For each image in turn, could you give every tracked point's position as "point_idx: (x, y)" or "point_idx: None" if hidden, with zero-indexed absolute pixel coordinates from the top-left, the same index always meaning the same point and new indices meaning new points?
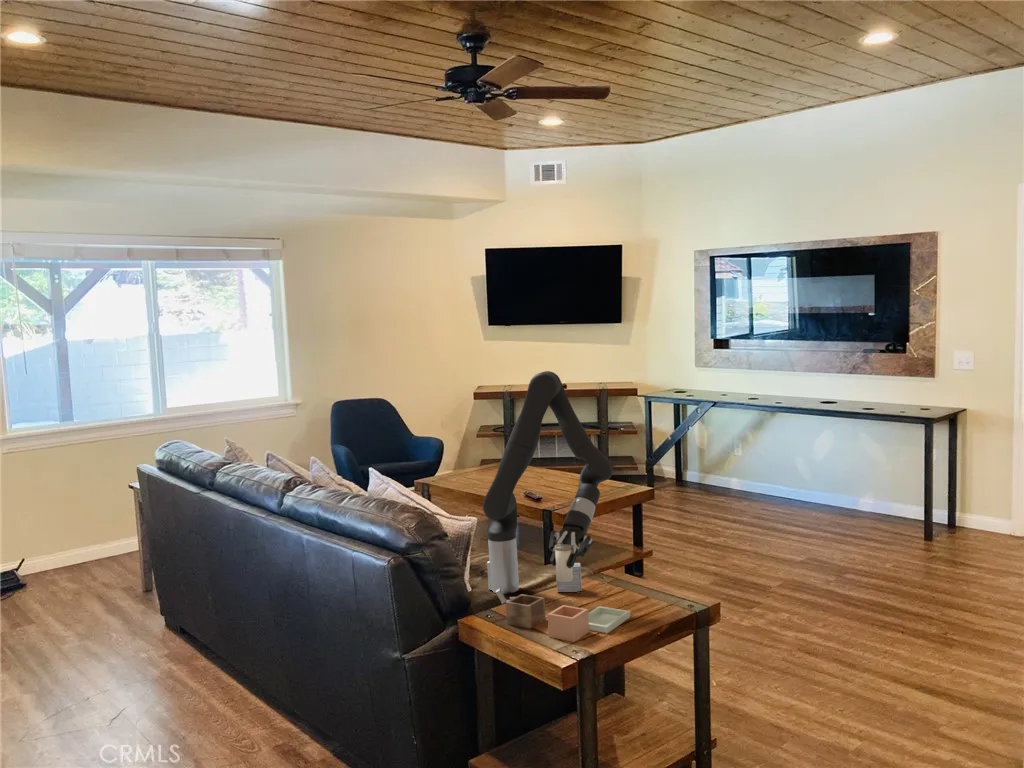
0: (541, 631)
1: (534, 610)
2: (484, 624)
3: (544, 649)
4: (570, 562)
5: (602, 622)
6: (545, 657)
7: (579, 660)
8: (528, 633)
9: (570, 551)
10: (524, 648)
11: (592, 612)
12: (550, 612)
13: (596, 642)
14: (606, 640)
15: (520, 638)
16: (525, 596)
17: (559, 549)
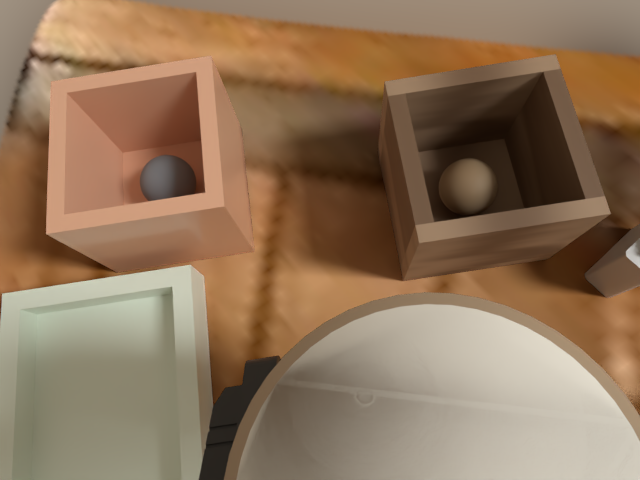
0: (333, 178)
1: (391, 149)
2: (618, 92)
3: (196, 54)
4: (238, 405)
5: (106, 405)
6: (149, 10)
7: (25, 58)
8: (366, 129)
9: None
10: (269, 20)
11: (182, 440)
12: (212, 80)
13: (45, 220)
14: (15, 263)
15: (354, 74)
16: (556, 204)
17: (380, 302)
